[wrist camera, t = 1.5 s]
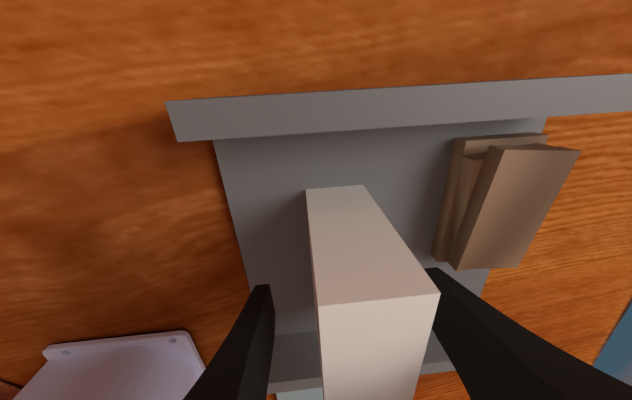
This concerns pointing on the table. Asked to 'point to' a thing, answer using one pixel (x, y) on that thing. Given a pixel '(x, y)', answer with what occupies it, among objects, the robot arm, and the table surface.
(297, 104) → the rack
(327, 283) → the white rectangular block
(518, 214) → the offcut stack
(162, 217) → the table surface
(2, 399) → the wooden tablet
